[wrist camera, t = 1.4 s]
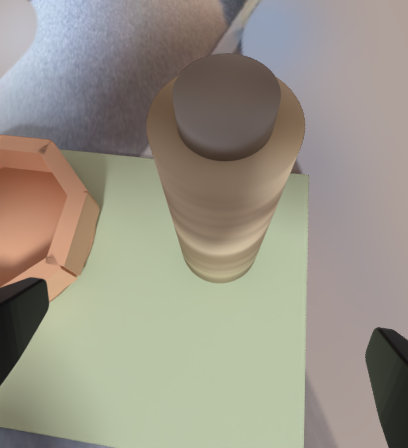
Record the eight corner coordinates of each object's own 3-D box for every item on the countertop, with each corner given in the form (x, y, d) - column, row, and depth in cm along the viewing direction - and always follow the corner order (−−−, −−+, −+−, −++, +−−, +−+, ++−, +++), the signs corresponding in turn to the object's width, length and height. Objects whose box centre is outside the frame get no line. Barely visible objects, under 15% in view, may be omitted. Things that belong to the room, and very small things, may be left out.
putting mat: (301, 478, 18) (302, 481, 17) (-162, 395, 20) (-170, 396, 19) (307, 177, 25) (308, 174, 24) (-33, 142, 27) (-36, 139, 27)
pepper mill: (253, 288, 21) (314, 177, 8) (176, 278, 22) (119, 157, 9) (259, 216, 23) (316, 37, 10) (188, 208, 24) (157, 26, 11)
